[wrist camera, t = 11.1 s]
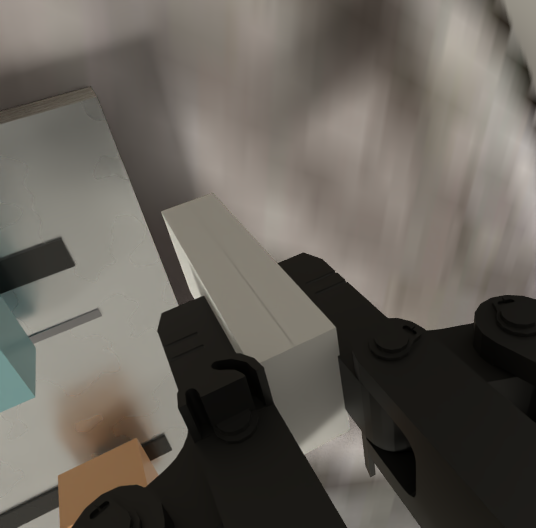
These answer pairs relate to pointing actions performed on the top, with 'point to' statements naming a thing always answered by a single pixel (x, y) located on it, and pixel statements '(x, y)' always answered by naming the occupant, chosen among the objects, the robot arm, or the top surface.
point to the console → (78, 305)
